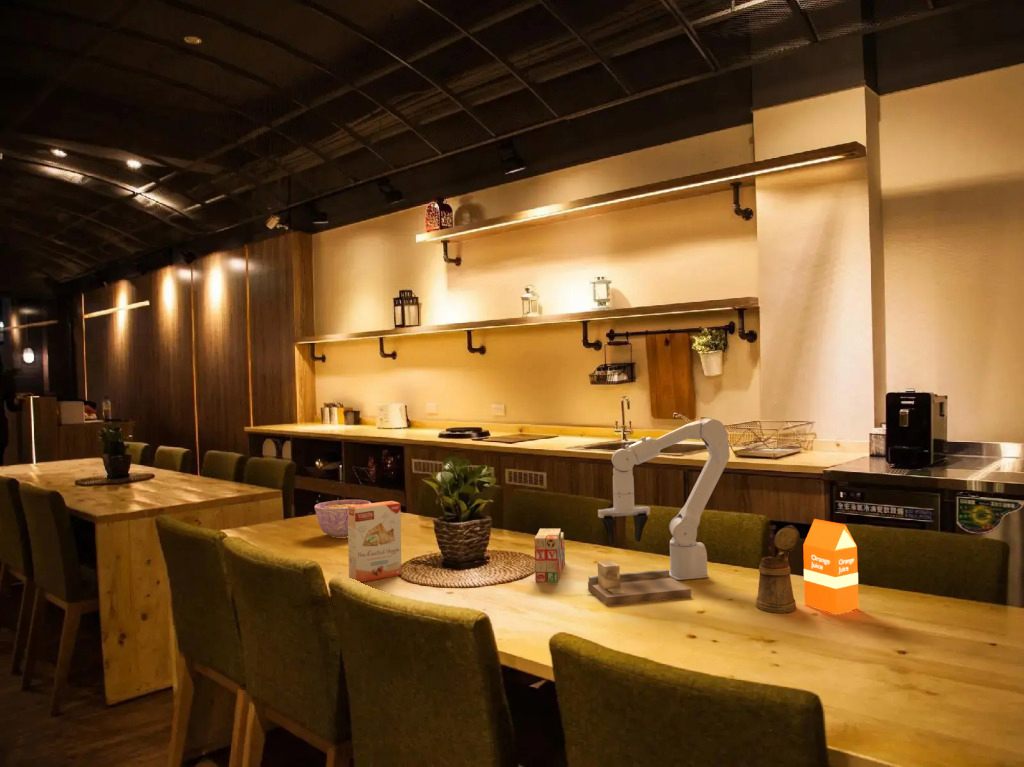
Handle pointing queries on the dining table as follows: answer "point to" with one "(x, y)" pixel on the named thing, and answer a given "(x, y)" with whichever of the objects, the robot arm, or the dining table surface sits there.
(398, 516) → the cracker box
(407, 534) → the dining table surface
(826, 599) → the orange juice
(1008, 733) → the dining table surface
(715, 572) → the dining table surface
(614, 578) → the tan wooden block
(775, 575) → the wooden mug
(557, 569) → the stack of blocks
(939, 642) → the dining table surface
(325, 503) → the bowl of food
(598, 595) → the walnut board
